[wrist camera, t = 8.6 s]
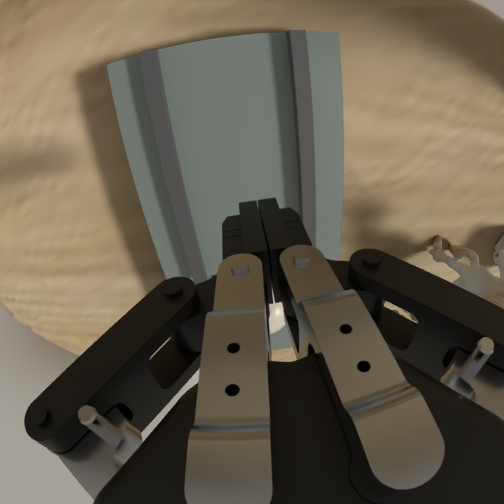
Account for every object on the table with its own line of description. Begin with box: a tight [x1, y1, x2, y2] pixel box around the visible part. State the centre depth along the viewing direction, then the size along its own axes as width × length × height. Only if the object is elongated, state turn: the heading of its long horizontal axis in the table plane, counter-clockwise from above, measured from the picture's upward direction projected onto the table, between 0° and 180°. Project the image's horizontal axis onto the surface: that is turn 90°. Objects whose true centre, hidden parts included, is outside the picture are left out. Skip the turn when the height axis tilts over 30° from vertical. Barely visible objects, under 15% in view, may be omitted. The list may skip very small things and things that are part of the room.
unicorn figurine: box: [392, 236, 504, 323], centre depth 26 cm, size 7×20×13 cm, turn 163°
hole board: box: [107, 30, 344, 350], centre depth 25 cm, size 15×30×4 cm, turn 6°
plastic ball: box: [269, 290, 285, 334], centre depth 29 cm, size 6×6×6 cm
